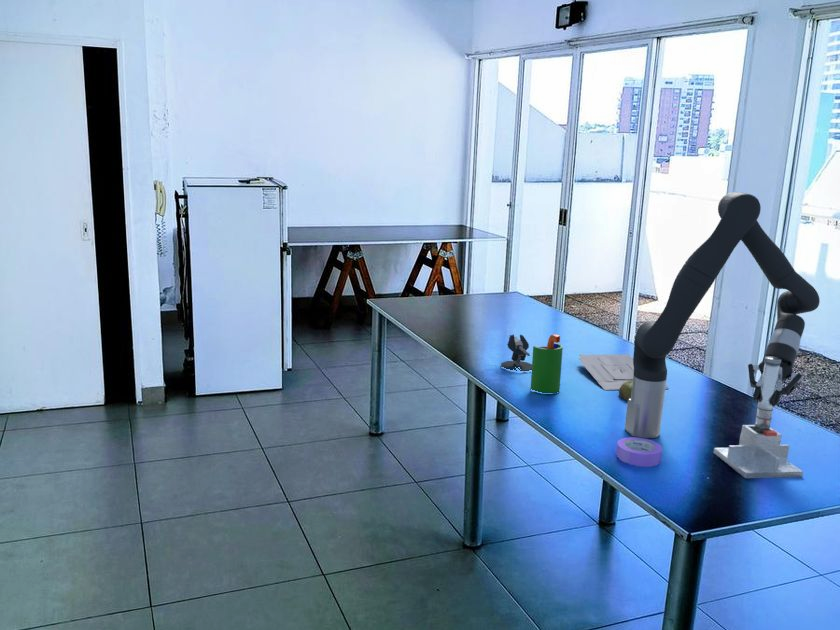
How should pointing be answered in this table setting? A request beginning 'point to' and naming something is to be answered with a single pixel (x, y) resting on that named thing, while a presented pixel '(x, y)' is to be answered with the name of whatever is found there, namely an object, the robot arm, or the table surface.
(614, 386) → the papers
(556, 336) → the green pen holder
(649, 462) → the masking tape
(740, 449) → the jack base
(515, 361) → the gun turret
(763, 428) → the cylinder
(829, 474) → the table surface
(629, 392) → the weight
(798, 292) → the robot arm
